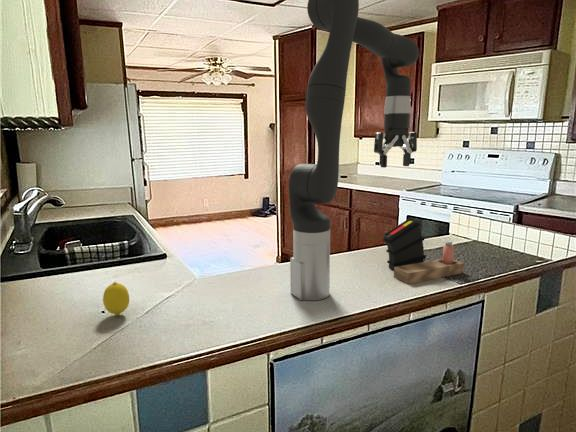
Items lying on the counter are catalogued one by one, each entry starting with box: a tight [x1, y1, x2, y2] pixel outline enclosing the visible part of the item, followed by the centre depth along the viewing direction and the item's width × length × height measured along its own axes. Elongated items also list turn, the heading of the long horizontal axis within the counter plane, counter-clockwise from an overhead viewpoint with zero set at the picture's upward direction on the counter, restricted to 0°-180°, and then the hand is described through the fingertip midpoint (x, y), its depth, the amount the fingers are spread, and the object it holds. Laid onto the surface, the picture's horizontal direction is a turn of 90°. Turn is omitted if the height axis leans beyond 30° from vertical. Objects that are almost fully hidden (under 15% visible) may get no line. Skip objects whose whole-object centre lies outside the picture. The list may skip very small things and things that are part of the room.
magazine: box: [382, 217, 427, 271], centre depth 128 cm, size 4×13×15 cm, turn 111°
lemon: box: [102, 281, 130, 316], centre depth 96 cm, size 6×6×8 cm
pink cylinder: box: [442, 240, 455, 265], centre depth 124 cm, size 3×3×9 cm
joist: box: [393, 258, 465, 285], centre depth 122 cm, size 20×6×3 cm, turn 115°
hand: (394, 166), depth 130 cm, fingers open, 8 cm apart
